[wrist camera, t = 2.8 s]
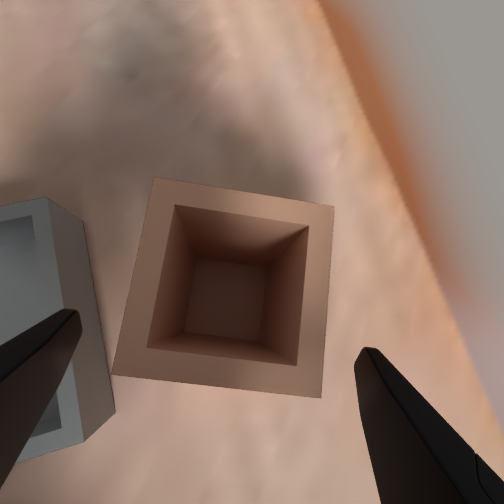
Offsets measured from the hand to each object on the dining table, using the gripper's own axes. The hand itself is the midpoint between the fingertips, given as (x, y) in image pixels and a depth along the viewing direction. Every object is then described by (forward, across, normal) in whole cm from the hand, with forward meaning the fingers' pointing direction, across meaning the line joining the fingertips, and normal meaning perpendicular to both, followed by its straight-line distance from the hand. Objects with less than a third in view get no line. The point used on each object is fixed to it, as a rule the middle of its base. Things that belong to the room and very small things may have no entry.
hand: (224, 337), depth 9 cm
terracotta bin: (+8, 0, +5) cm, 9 cm away
